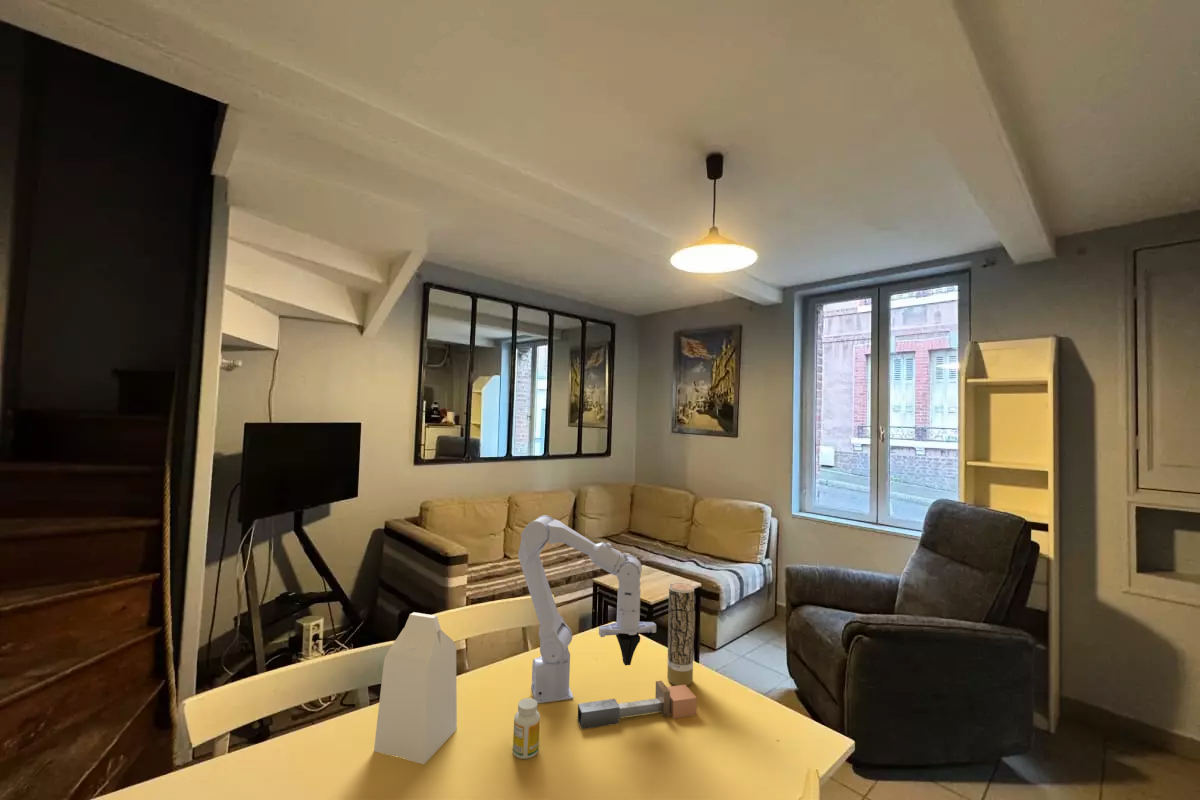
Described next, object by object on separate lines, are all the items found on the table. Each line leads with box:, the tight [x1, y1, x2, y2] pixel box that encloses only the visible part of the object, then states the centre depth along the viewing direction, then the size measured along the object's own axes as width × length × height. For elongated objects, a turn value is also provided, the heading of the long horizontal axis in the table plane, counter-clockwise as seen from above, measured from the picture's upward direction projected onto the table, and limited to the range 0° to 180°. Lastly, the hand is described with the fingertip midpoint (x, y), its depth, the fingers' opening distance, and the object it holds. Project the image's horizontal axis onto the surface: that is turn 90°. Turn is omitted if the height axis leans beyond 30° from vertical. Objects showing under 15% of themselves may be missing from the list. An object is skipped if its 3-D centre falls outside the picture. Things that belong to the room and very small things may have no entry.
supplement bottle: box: [512, 697, 541, 760], centre depth 99 cm, size 5×5×10 cm
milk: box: [373, 611, 458, 765], centre depth 102 cm, size 12×12×26 cm
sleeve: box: [577, 698, 621, 730], centre depth 110 cm, size 9×4×4 cm, turn 106°
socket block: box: [666, 685, 698, 720], centre depth 115 cm, size 6×6×4 cm
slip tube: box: [618, 680, 671, 719], centre depth 112 cm, size 19×5×6 cm, turn 106°
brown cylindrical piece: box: [666, 582, 695, 687], centre depth 129 cm, size 7×7×25 cm
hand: (626, 663), depth 118 cm, fingers closed
